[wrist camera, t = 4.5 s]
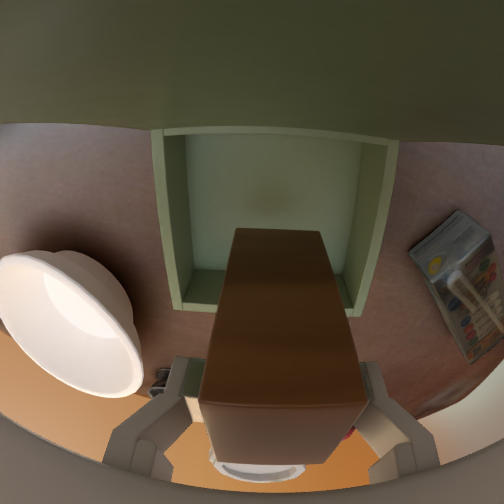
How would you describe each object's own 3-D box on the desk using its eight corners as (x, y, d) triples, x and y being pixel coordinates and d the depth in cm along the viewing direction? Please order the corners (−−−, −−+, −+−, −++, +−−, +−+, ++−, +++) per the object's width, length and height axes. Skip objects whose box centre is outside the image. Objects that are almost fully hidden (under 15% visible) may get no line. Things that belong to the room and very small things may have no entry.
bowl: (13, 274, 31) (-18, 308, 24) (67, 178, 24) (14, 210, 17) (110, 366, 38) (92, 407, 31) (201, 317, 31) (185, 376, 24)
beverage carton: (460, 203, 23) (498, 233, 17) (492, 304, 29) (514, 334, 23) (404, 250, 26) (432, 289, 20) (451, 336, 32) (469, 370, 26)
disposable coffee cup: (205, 354, 35) (183, 462, 22) (282, 328, 31) (285, 453, 18) (247, 394, 39) (240, 486, 26) (315, 375, 36) (325, 475, 23)
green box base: (347, 277, 28) (361, 316, 23) (188, 271, 28) (173, 309, 23) (371, 125, 20) (401, 134, 15) (177, 117, 21) (149, 123, 16)
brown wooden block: (235, 226, 13) (196, 401, 6) (320, 230, 13) (370, 402, 6) (236, 307, 16) (215, 462, 8) (307, 310, 16) (324, 464, 8)
